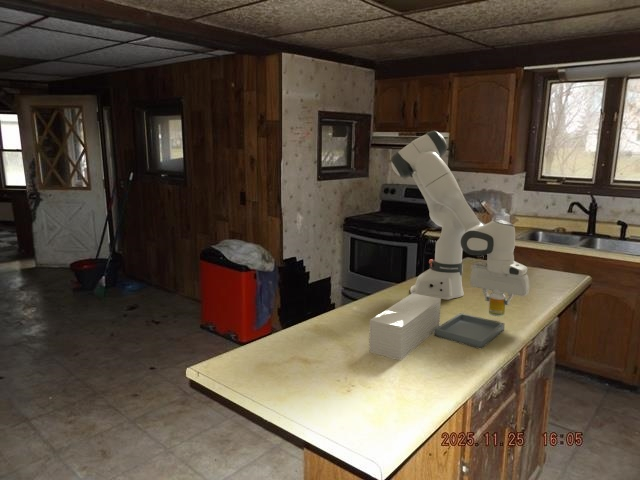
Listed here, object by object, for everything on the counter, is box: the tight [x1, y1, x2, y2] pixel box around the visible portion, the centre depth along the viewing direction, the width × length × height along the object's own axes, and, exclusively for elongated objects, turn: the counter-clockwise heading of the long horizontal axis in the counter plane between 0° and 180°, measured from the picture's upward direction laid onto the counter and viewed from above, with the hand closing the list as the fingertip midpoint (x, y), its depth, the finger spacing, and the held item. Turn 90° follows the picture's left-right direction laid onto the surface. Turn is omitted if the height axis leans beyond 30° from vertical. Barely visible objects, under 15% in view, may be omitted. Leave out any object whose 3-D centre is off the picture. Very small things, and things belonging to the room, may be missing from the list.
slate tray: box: [434, 312, 505, 350], centre depth 162 cm, size 20×16×2 cm
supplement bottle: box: [488, 289, 507, 317], centre depth 172 cm, size 5×5×10 cm
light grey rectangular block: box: [368, 293, 442, 361], centre depth 156 cm, size 32×11×11 cm, turn 146°
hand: (497, 302), depth 172 cm, fingers closed on supplement bottle, 5 cm apart
